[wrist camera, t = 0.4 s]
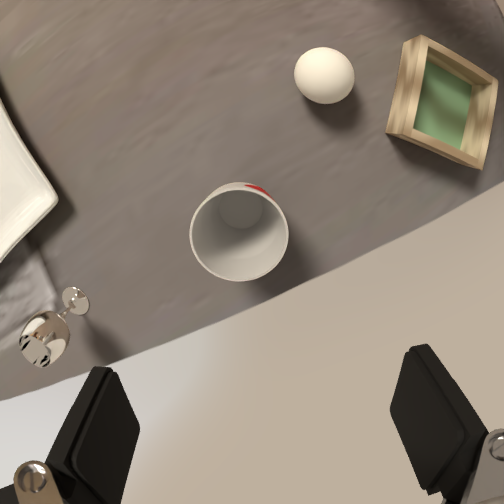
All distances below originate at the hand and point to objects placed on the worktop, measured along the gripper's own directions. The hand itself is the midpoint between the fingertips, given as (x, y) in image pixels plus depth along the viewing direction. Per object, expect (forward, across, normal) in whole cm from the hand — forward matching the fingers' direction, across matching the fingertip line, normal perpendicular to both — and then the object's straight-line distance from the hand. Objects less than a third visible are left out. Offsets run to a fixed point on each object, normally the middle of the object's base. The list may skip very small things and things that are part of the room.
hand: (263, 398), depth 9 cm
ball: (+25, -8, -13) cm, 30 cm away
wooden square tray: (+28, -23, -12) cm, 38 cm away
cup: (+28, +1, +1) cm, 28 cm away
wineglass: (+28, +25, +11) cm, 40 cm away
